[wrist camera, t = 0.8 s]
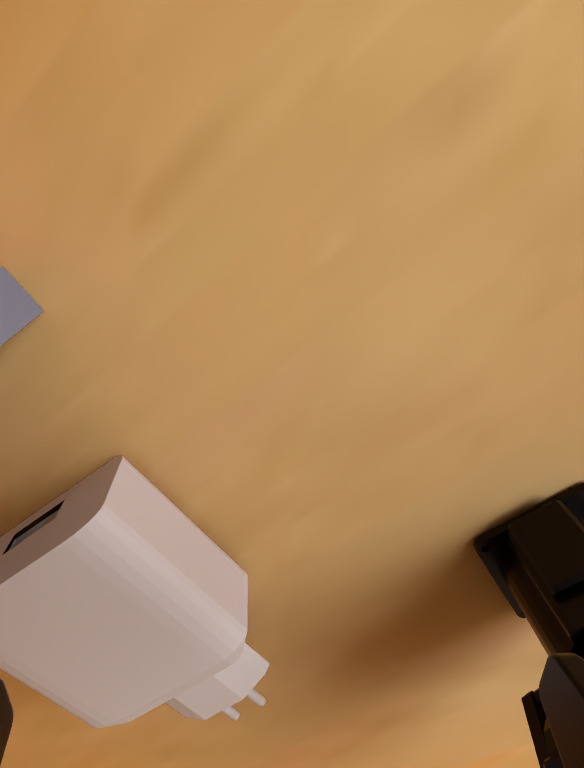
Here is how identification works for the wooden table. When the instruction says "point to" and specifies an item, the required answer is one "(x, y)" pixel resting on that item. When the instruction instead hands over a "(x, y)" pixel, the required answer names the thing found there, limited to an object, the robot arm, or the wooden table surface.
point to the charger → (125, 606)
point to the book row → (14, 307)
